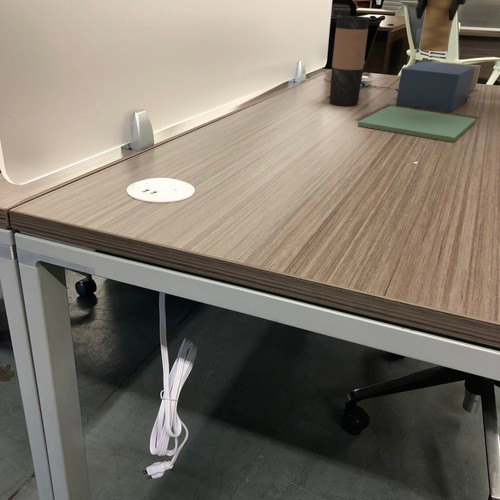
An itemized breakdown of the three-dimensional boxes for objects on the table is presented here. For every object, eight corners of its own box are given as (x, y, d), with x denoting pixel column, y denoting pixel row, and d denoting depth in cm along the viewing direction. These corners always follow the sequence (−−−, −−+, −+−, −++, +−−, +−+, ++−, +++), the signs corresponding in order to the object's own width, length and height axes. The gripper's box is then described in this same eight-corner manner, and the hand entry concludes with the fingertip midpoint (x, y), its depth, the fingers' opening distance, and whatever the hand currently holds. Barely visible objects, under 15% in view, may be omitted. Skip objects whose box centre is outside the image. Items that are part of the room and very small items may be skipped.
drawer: (434, 83, 153) (439, 59, 150) (478, 89, 147) (483, 64, 144) (414, 93, 138) (419, 66, 135) (462, 99, 132) (468, 72, 129)
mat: (475, 123, 113) (476, 118, 113) (453, 142, 98) (454, 137, 98) (389, 110, 123) (389, 106, 122) (357, 126, 108) (357, 121, 107)
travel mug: (364, 105, 127) (376, 18, 117) (338, 107, 124) (347, 17, 115) (348, 99, 133) (358, 16, 123) (323, 101, 130) (331, 15, 121)
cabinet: (415, 94, 141) (421, 61, 137) (466, 101, 135) (474, 66, 131) (395, 104, 129) (401, 68, 125) (451, 112, 122) (459, 74, 118)
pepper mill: (449, 49, 106) (470, -53, 98) (442, 52, 102) (463, -55, 93) (423, 47, 109) (440, -52, 100) (415, 49, 105) (433, -54, 96)
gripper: (519, -60, 103) (483, 31, 98) (428, -59, 112) (391, 25, 107) (523, -95, 96) (484, 1, 92) (425, -91, 105) (386, -3, 101)
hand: (434, 14), depth 100 cm, fingers closed on pepper mill, 6 cm apart
